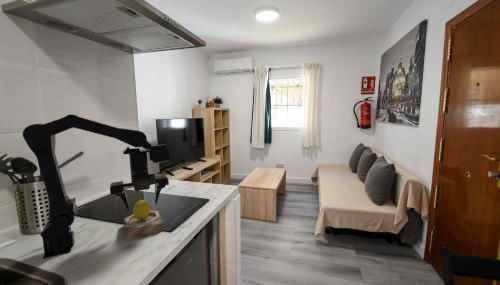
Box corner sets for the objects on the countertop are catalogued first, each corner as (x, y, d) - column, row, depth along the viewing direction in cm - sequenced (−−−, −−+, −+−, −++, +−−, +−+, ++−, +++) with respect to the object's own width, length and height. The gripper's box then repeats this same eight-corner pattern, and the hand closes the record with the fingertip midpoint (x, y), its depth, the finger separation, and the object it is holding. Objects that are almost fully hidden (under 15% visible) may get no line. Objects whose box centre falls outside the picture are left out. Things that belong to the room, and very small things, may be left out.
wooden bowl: (125, 240, 73) (124, 228, 72) (124, 225, 83) (124, 214, 83) (163, 230, 79) (162, 219, 78) (158, 217, 89) (157, 207, 89)
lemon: (146, 215, 84) (144, 195, 83) (153, 219, 81) (152, 199, 80) (131, 221, 80) (129, 200, 79) (138, 225, 77) (136, 204, 76)
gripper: (107, 173, 67) (112, 221, 68) (170, 165, 76) (173, 208, 78) (108, 166, 76) (112, 209, 78) (164, 160, 86) (167, 198, 87)
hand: (142, 206), depth 80 cm, fingers open, 9 cm apart
